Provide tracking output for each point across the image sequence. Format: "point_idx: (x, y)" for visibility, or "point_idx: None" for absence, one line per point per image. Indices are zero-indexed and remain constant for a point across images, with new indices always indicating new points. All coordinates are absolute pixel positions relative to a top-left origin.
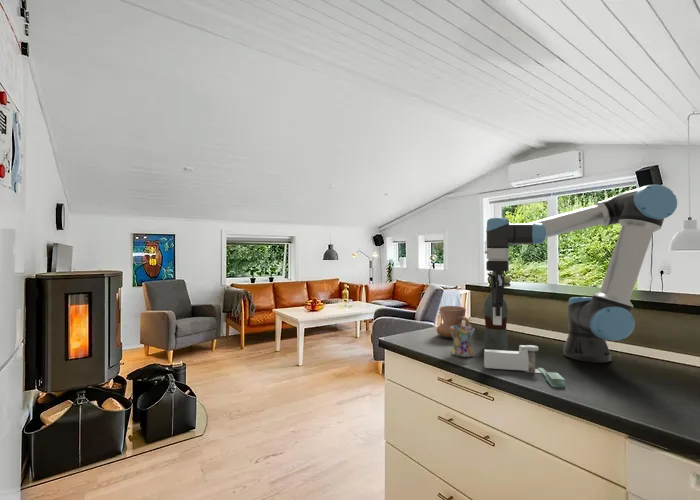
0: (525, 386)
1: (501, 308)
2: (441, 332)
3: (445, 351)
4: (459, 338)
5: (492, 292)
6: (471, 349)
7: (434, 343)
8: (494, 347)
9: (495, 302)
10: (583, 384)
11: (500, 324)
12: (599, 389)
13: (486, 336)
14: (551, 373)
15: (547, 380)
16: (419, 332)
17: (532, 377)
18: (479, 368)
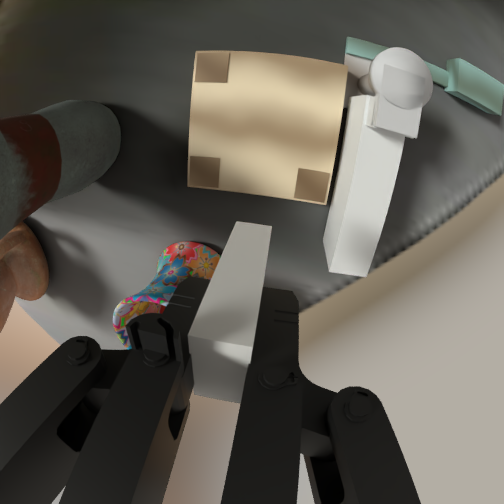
0: (482, 185)
1: (253, 334)
2: (43, 294)
3: None
4: None
5: (56, 496)
6: (202, 263)
7: (99, 311)
8: (113, 152)
9: (333, 469)
10: (460, 15)
11: (270, 236)
12: (483, 10)
13: (75, 191)
14: (467, 83)
15: (458, 97)
16: (33, 312)
17: (428, 120)
18: None
